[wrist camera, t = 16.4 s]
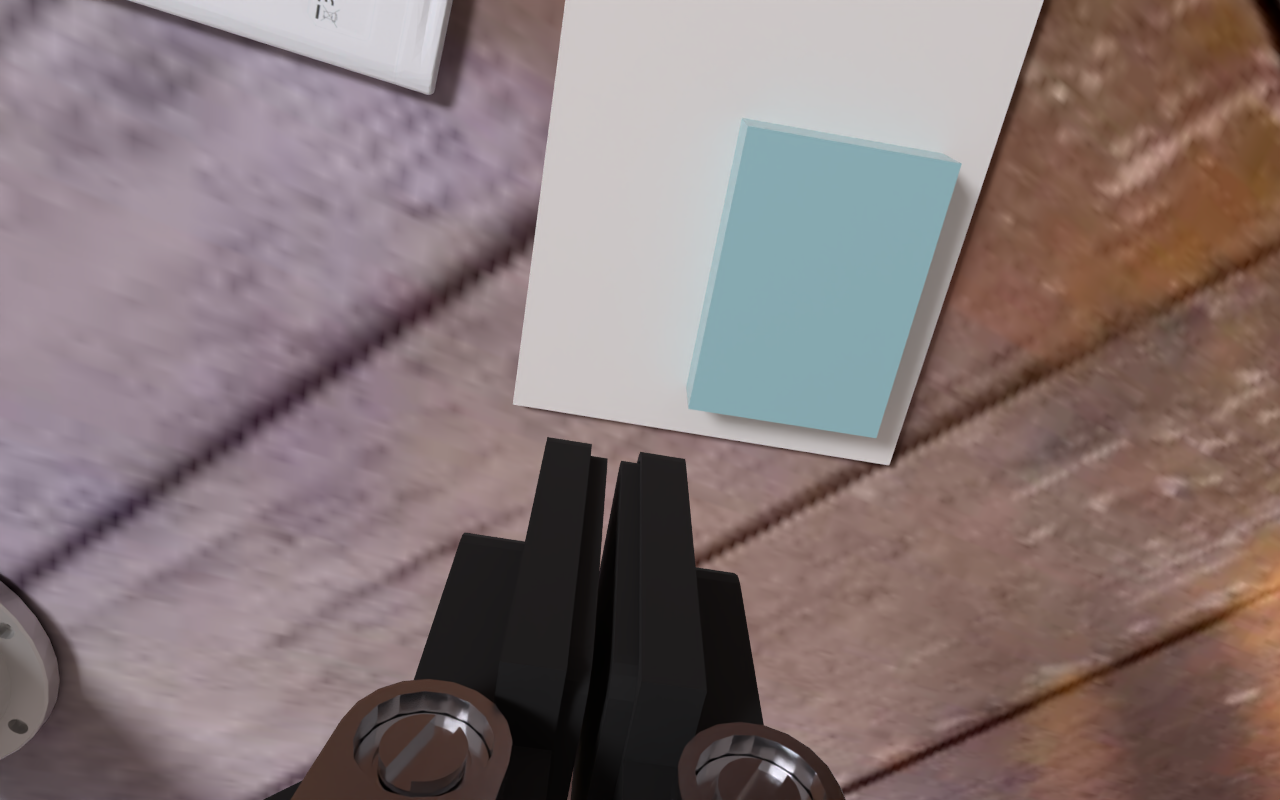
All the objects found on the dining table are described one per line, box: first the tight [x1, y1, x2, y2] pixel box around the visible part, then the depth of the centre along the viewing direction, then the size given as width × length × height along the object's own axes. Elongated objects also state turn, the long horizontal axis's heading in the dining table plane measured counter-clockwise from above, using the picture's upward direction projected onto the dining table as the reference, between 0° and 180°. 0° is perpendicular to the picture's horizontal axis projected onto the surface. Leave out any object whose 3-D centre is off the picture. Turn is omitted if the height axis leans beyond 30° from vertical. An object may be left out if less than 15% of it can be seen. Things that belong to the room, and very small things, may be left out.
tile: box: [686, 118, 962, 438], centre depth 32 cm, size 10×2×7 cm
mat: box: [513, 0, 1044, 465], centre depth 32 cm, size 18×15×1 cm
